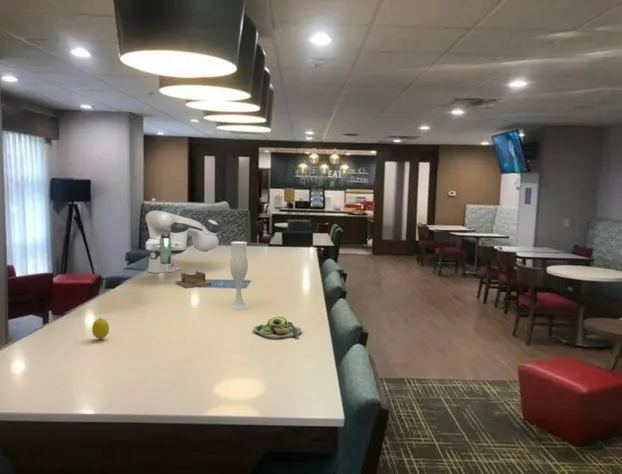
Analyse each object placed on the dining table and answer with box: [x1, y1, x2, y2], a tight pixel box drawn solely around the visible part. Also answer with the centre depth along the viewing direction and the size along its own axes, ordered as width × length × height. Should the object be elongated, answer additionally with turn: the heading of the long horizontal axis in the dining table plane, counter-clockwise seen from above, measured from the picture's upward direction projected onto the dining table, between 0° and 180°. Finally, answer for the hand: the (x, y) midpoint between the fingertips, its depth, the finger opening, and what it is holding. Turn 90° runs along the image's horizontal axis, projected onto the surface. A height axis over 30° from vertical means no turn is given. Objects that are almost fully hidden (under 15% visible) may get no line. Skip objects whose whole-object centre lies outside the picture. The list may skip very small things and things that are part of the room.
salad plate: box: [252, 316, 302, 340], centre depth 193 cm, size 19×18×5 cm
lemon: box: [91, 317, 110, 341], centre depth 181 cm, size 6×6×8 cm
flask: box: [160, 233, 172, 264], centre depth 275 cm, size 6×6×16 cm
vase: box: [229, 241, 249, 310], centre depth 232 cm, size 9×8×30 cm
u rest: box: [174, 270, 212, 289], centre depth 284 cm, size 15×15×6 cm
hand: (165, 247), depth 274 cm, fingers closed on flask, 6 cm apart
